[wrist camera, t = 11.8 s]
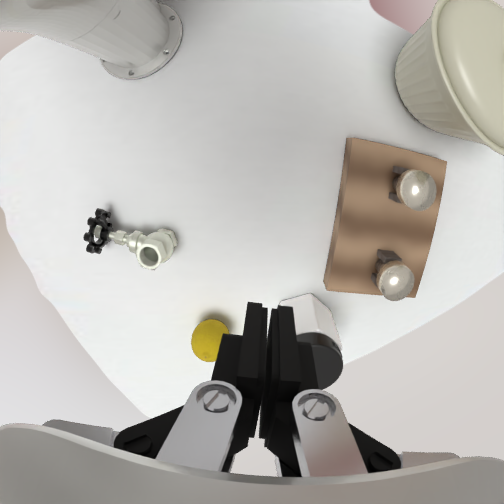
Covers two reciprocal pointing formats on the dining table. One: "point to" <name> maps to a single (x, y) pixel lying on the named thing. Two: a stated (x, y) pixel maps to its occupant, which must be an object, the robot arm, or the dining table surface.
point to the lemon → (208, 339)
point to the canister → (457, 72)
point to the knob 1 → (415, 189)
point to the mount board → (379, 217)
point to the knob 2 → (394, 279)
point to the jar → (318, 336)
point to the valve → (131, 241)
